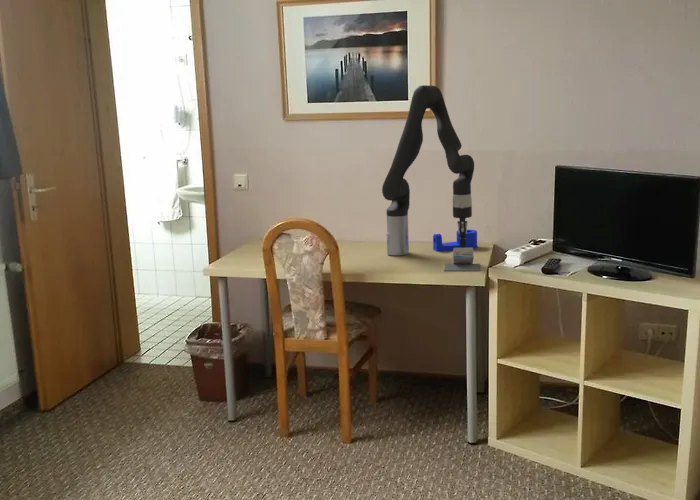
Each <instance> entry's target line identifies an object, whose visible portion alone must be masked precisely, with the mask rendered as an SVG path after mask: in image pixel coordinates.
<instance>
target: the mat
mask: <svg viewBox="0 0 700 500" xmlns="http://www.w3.org/2000/svg"><path fill="white" fill-rule="evenodd" d="M481 268H482V267H481V263H473V264H453V263H445V264H444V268H443V271H444V272H481Z"/></svg>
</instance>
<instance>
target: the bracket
mask: <svg viewBox="0 0 700 500" xmlns="http://www.w3.org/2000/svg"><path fill="white" fill-rule="evenodd" d="M459 236H460V235H459V233H458V230H456V241H452V242H451V241H450V242H443V237H442V234H441V233H434V234H433V235H432V243H433V244H432V246H433V247H432V249H433V251H434V252H449V251H450V252H451V251H452V252H453V248H460V238H459ZM468 247H473V250H475V249H478V230H476V229H467V233H466V247H465V248H468Z"/></svg>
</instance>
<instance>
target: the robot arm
mask: <svg viewBox="0 0 700 500" xmlns="http://www.w3.org/2000/svg"><path fill="white" fill-rule="evenodd" d="M412 93H413V94H412V97H411V100H410V105H409V111H408V115H407V119H406V122H405V124H404V128H403V131H402V132H401V136H400V139H399V141H398V145H397V148H396V151H395V155H394V158H393V160H392V163H391V166H390V168H389V170H388V173H387V175H386V177H385V179H384V181H383V184H382V189H381V191H382V193H381V194H382V196H383V199H385V200H387V201H391V203H390V205H389V206H388V207H387V209H386V229H387V230H386V232H387V233H386V250H387V251H386V253H387V254H386V255H388V256H389V255H390V256H405V255H408V254H410V247H409V246H410V245H409V243H410V242H409V216H408V214H409V210H410V197H411V196H410V193H411V192H410V185H409V183H408V180H407V179H405V178H404V176H405V175H406V172H407V171H408V170H409V168H410V167H411V166H412V164H413V162H415V160H416V159H417V157H418V155H419V153H420V151H421V147H422V145H423V141H424V134H423V132H424V131H423V127H422V125H423V119H424V115H425V113H426V111H427V110H430V111H431V112H432V113H433V115H434V118H435V120H436V129H437V130H436V131H437V132H436V133H437V137H438V139H439V142H440V143H441V146H442V148H443V150H444V153H445V158H446V162H447V166H448V169H449V170H450V171H451V172H452V173H453V174H456V175H458V177H457V179H454V180H453V183H452V217H453V218H454V219H459V220H457V231H458V233H459V235H460V236H459V238H460V248H465V247H466V233H467V230H468V220H466V219H468V218H471V217H472V216H473V214H472V213H473V212H472V211H473V207H472V206H473V205H472V203H473V202H472V179H473V176H474V171H475V161H474V159H473V157H472V156H471V155H469V154H459V151H460V150H461V148H462V142H461V140H460V139H459V138H460V137H458V134H457V132H456V130H455V129H454V128H455V127H454V126H453V124H452V121H451V119H450V115H449V112H448V109H447V106H446V102H445V98H444V96H443V93H442V91H441V89H440V88H439V87H438V86H436V85H418V87H416V88H415V89H414V91H413V92H412Z"/></svg>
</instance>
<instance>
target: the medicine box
mask: <svg viewBox="0 0 700 500" xmlns="http://www.w3.org/2000/svg"><path fill="white" fill-rule="evenodd" d="M473 262H474V249H473V247H468V248H453V251H452V264H474V263H473Z"/></svg>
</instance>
